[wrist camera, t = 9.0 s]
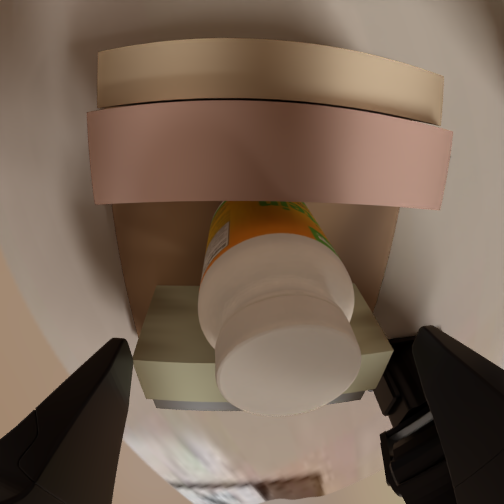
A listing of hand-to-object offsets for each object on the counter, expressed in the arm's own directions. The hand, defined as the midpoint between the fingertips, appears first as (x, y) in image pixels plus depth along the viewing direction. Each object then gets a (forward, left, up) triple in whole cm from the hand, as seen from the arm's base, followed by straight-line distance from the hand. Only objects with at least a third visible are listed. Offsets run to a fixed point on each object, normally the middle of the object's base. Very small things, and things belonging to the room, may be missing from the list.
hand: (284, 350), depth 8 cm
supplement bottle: (0, 0, -9) cm, 9 cm away
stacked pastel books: (0, 0, -10) cm, 10 cm away
